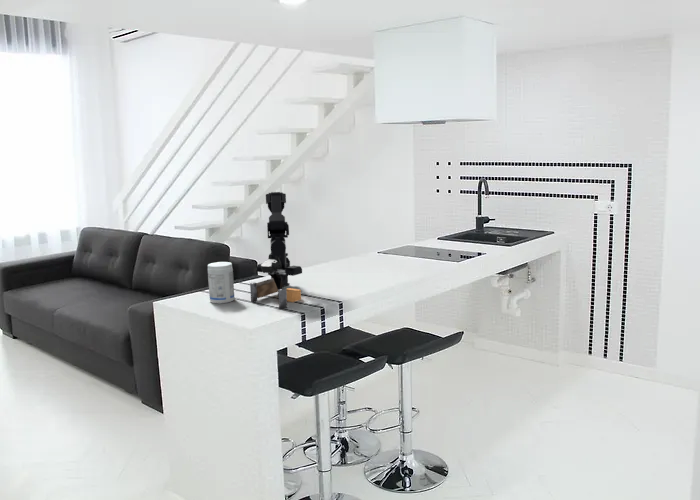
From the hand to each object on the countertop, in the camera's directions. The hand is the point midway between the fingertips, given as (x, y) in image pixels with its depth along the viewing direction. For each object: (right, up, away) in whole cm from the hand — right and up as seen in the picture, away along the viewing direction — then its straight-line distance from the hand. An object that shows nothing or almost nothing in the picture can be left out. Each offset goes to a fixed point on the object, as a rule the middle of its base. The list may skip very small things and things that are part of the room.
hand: (279, 290), depth 257 cm
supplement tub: (-22, -4, -2) cm, 23 cm away
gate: (-5, -2, +4) cm, 6 cm away
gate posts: (-3, -5, -9) cm, 11 cm away
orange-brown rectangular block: (+5, -4, -2) cm, 6 cm away
